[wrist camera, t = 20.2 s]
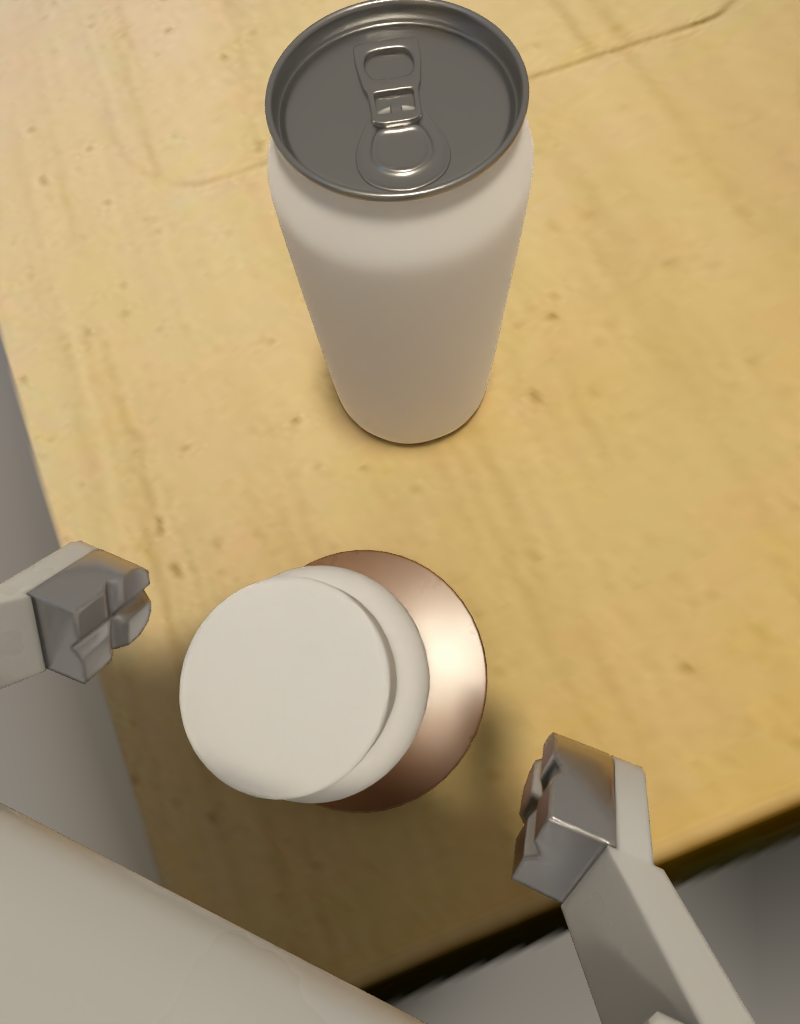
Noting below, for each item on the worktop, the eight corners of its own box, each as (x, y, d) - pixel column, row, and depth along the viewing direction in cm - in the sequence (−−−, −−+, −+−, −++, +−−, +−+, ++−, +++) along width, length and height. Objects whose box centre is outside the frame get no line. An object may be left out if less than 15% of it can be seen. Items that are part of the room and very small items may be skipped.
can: (343, 457, 22) (251, 236, 11) (329, 322, 24) (237, 4, 12) (500, 436, 22) (580, 189, 10) (474, 301, 24) (519, -38, 12)
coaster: (531, 733, 19) (535, 735, 18) (299, 857, 18) (295, 864, 18) (416, 514, 21) (416, 510, 21) (207, 616, 21) (200, 615, 20)
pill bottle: (263, 619, 20) (119, 583, 11) (403, 577, 20) (382, 504, 11) (298, 773, 18) (166, 890, 9) (448, 726, 19) (470, 793, 9)
